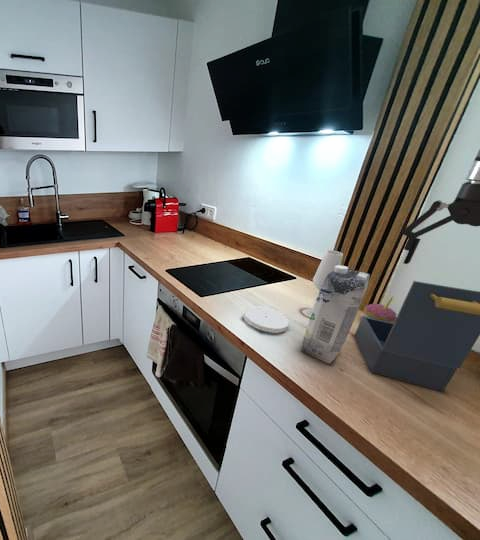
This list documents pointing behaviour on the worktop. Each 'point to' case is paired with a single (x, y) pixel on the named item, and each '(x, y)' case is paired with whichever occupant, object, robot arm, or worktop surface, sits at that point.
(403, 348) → the lid
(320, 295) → the juice carton
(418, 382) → the chest
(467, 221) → the robot arm
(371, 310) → the cupcake
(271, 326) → the plastic lid
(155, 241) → the worktop surface
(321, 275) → the champagne flute
